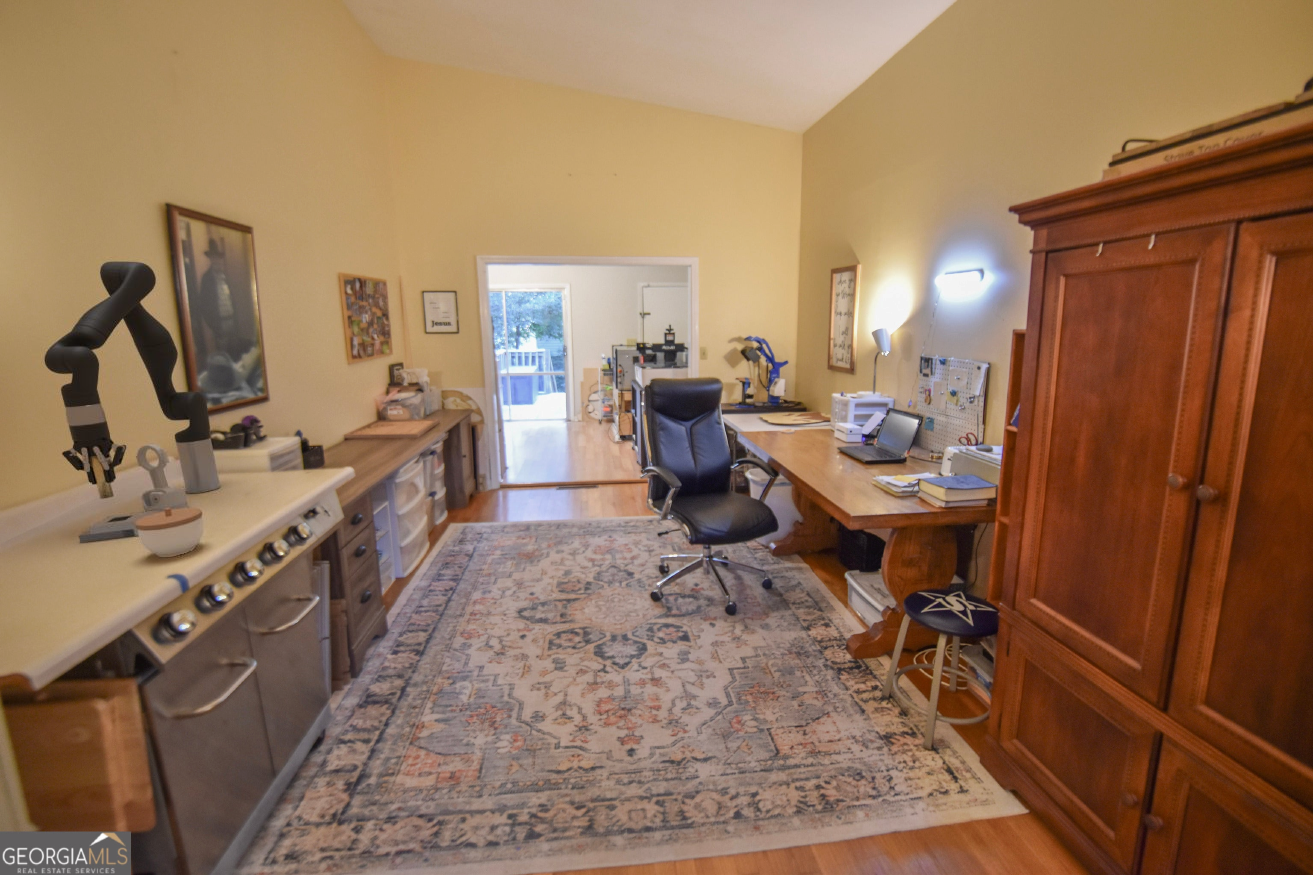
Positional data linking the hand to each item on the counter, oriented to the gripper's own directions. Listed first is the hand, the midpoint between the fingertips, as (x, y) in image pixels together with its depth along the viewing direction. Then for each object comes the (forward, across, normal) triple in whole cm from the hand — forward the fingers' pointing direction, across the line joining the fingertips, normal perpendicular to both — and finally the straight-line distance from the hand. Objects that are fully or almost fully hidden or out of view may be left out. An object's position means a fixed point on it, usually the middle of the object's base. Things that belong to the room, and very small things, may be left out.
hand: (103, 482), depth 163 cm
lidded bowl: (+12, -26, +31) cm, 43 cm away
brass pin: (+4, 0, 0) cm, 4 cm away
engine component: (+13, -8, -11) cm, 19 cm away
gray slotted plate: (+13, -9, +8) cm, 17 cm away
